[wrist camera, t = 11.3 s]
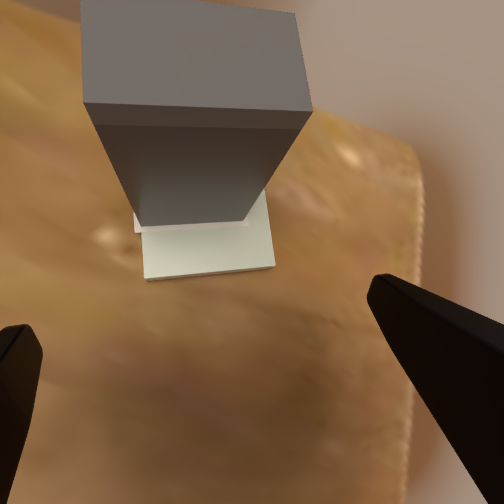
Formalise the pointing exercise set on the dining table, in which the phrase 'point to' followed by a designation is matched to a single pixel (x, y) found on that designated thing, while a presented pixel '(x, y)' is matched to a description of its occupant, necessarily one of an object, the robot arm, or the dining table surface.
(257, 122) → the block
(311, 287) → the dining table surface
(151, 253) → the board
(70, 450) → the dining table surface
